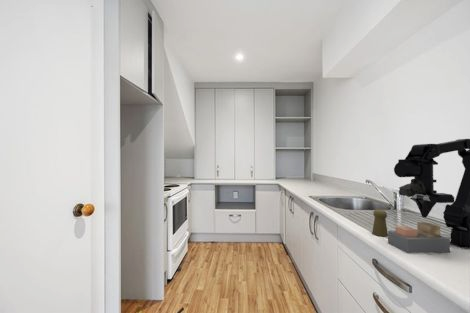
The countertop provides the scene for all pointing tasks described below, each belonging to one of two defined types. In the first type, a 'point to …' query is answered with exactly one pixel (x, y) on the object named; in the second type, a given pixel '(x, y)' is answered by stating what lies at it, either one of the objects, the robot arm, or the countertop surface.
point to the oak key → (428, 229)
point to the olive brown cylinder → (380, 223)
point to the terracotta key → (406, 231)
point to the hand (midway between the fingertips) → (424, 217)
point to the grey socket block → (419, 243)
